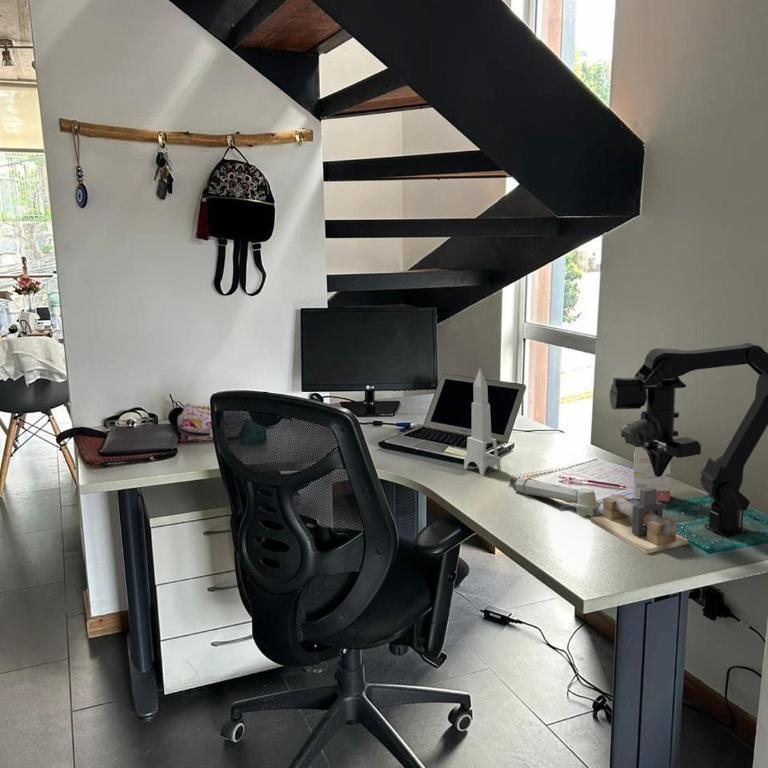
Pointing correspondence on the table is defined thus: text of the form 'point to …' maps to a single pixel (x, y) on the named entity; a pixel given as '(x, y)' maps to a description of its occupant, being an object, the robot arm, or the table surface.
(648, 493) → the collar
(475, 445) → the sculpture
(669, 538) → the pipe stand
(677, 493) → the table surface
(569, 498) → the grey piece
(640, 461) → the ink cartridge box
